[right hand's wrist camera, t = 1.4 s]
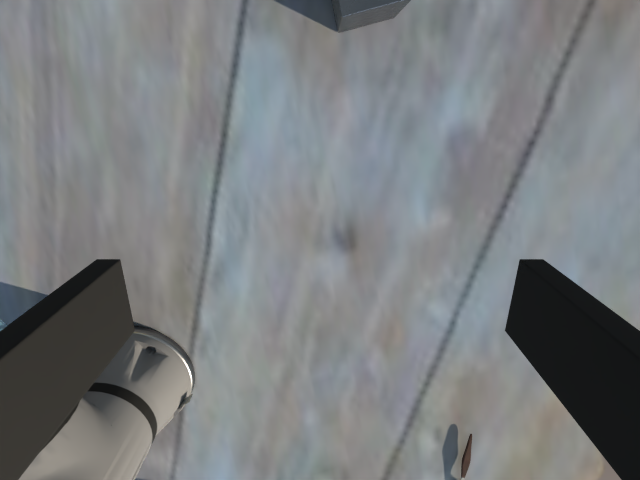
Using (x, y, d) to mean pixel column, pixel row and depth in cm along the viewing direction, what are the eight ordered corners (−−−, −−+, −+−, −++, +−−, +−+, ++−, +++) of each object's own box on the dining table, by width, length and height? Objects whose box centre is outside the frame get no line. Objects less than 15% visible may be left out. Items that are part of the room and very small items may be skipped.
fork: (478, 431, 57) (484, 442, 55) (464, 503, 62) (468, 516, 60) (461, 431, 57) (465, 442, 55) (448, 503, 62) (452, 516, 61)
